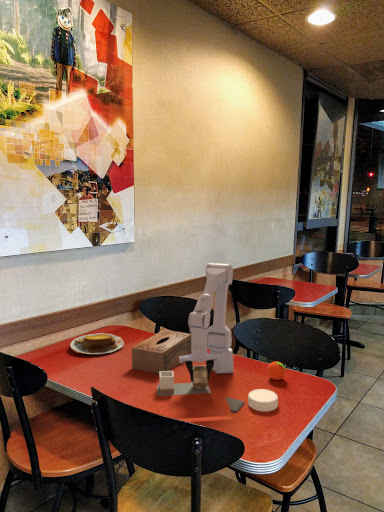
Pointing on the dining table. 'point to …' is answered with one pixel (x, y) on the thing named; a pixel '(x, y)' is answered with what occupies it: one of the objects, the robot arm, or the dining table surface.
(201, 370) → the birch sleeve
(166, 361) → the tissue box cover
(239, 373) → the dining table surface
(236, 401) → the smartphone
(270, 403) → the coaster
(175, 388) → the pin board
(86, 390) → the dining table surface
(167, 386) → the cream square cup
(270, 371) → the clementine
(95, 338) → the food on plate
